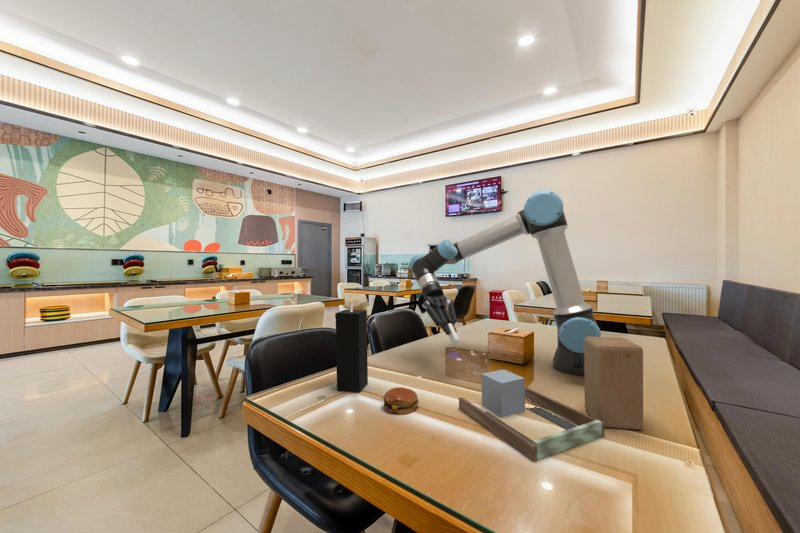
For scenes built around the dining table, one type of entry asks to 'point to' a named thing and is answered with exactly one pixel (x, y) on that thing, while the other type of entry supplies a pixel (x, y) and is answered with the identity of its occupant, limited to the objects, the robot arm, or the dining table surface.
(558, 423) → the pads
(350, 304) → the black tall block
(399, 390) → the burger
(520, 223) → the robot arm
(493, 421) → the u-shaped frame
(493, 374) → the slate block
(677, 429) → the dining table surface
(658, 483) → the dining table surface
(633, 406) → the wooden block
